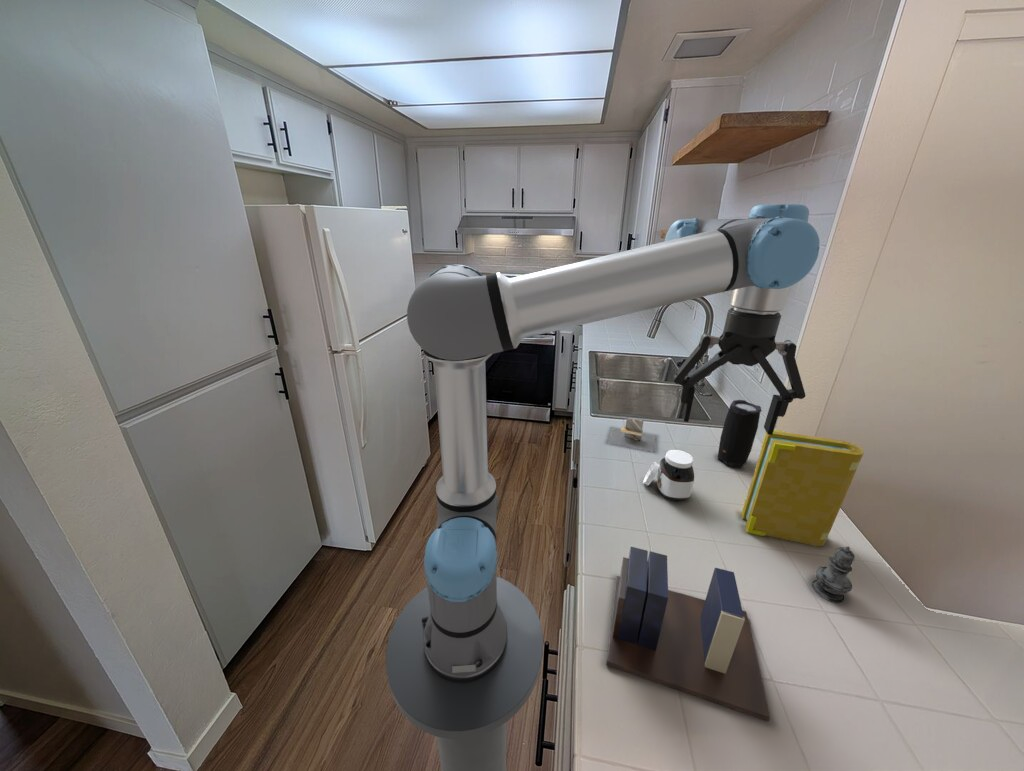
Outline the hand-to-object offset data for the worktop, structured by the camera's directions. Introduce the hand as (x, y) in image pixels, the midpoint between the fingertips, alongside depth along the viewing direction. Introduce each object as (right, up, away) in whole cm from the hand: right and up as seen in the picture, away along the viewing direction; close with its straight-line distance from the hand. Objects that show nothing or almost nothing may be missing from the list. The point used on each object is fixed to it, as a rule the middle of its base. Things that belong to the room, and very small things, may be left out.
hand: (725, 424), depth 70 cm
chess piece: (+25, -35, +8) cm, 44 cm away
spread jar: (+3, -22, +37) cm, 43 cm away
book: (+27, -28, +23) cm, 45 cm away
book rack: (-9, -38, -1) cm, 39 cm away
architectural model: (+2, -12, +62) cm, 63 cm away
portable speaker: (+30, -17, +50) cm, 60 cm away
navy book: (-4, -38, -3) cm, 38 cm away
